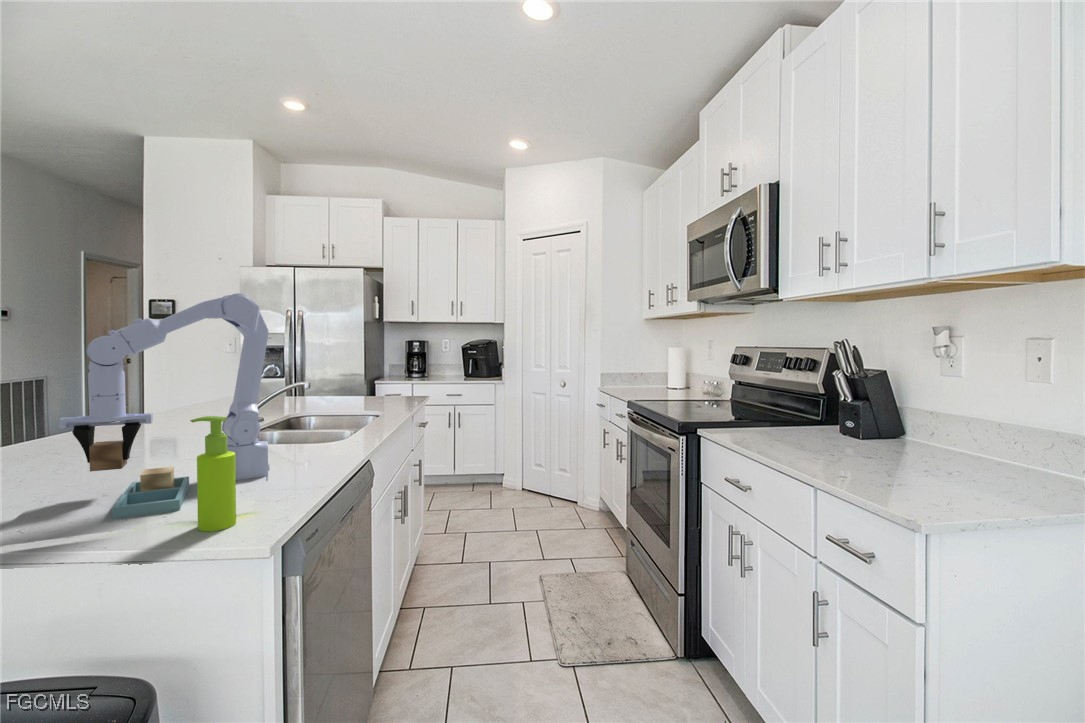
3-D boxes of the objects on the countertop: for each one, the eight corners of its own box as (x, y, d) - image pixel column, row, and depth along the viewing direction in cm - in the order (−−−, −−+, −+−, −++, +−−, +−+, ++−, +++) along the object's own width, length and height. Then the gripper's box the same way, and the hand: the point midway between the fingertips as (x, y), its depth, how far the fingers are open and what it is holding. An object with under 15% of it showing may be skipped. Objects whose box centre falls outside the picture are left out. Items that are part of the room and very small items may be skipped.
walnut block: (127, 463, 108) (126, 440, 108) (121, 468, 104) (121, 444, 103) (96, 465, 105) (96, 442, 105) (89, 471, 101) (89, 446, 101)
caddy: (189, 489, 113) (189, 476, 112) (179, 515, 97) (179, 499, 97) (132, 496, 108) (131, 482, 107) (112, 523, 92) (112, 507, 92)
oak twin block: (174, 489, 109) (173, 466, 109) (171, 496, 105) (170, 472, 105) (145, 492, 107) (144, 469, 107) (140, 499, 103) (140, 475, 102)
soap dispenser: (203, 519, 95) (202, 414, 94) (242, 519, 96) (241, 414, 95) (184, 531, 89) (182, 419, 88) (225, 531, 90) (224, 419, 89)
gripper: (154, 391, 111) (156, 452, 112) (66, 394, 104) (68, 459, 104) (148, 394, 105) (150, 459, 105) (54, 398, 98) (56, 467, 98)
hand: (109, 460), depth 104 cm, fingers closed on walnut block, 5 cm apart
